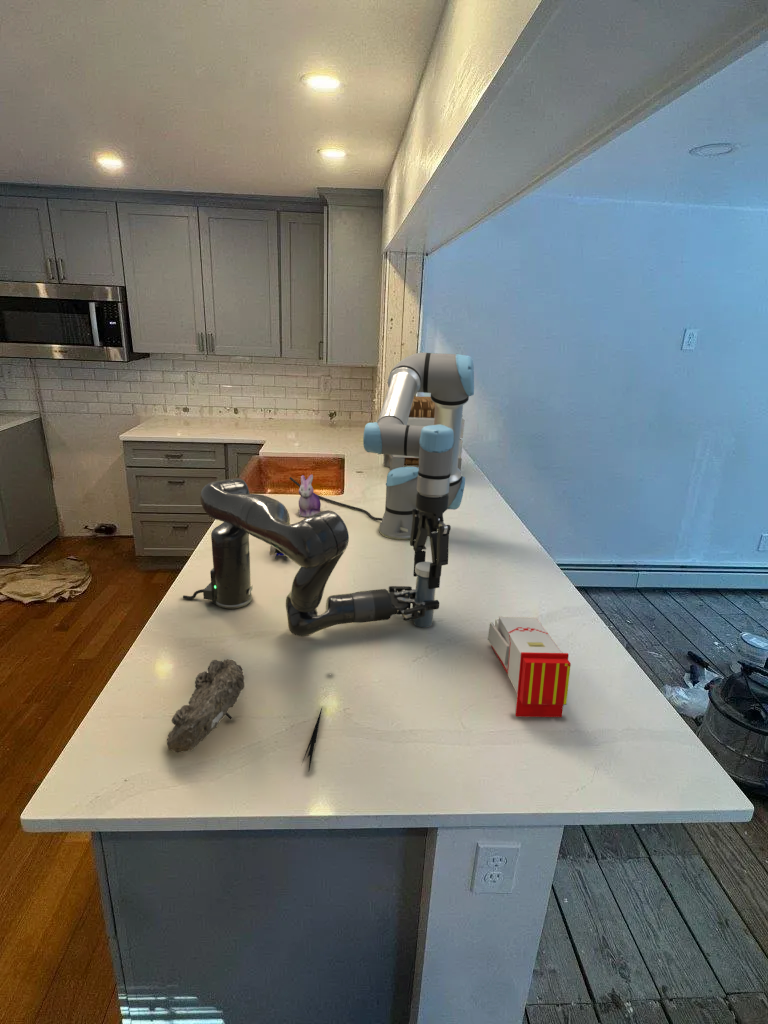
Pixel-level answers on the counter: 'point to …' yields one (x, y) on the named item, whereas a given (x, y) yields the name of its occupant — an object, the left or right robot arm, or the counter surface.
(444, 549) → the right robot arm
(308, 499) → the figurine
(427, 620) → the jar
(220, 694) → the fossil
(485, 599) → the counter surface
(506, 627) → the toy
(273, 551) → the figurine character
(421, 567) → the lid
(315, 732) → the feather
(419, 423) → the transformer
